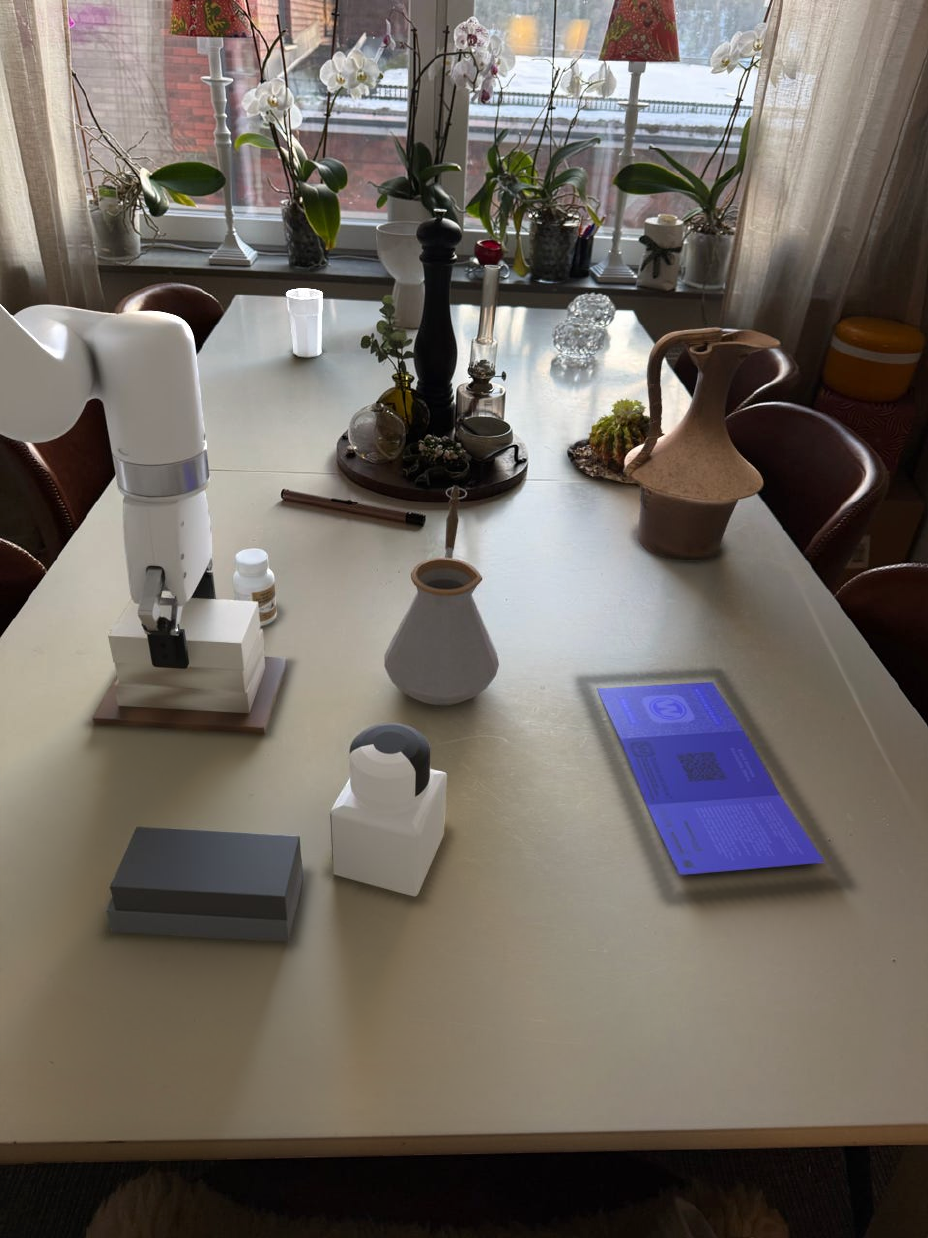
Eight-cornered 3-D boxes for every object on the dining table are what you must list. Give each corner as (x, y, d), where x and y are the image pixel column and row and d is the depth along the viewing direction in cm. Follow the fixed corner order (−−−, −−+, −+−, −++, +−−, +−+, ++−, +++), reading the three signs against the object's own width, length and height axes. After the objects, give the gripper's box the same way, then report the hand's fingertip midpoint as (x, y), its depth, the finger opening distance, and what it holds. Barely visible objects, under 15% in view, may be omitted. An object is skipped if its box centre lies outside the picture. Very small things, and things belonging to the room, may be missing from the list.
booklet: (712, 682, 97) (713, 676, 97) (822, 868, 77) (825, 862, 76) (596, 688, 95) (597, 683, 95) (678, 881, 75) (679, 875, 74)
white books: (93, 726, 87) (82, 674, 84) (132, 656, 96) (123, 607, 93) (265, 736, 87) (260, 685, 84) (287, 665, 96) (283, 617, 93)
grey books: (111, 933, 68) (100, 887, 66) (138, 869, 73) (128, 824, 71) (288, 943, 68) (284, 898, 66) (303, 879, 73) (300, 834, 71)
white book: (113, 662, 86) (107, 635, 84) (137, 620, 91) (133, 594, 90) (244, 670, 86) (241, 643, 84) (260, 627, 91) (258, 601, 90)
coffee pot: (495, 723, 90) (506, 591, 82) (376, 714, 90) (375, 582, 82) (501, 604, 108) (510, 485, 100) (402, 597, 108) (403, 478, 100)
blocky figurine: (365, 813, 80) (363, 703, 73) (445, 834, 78) (450, 723, 71) (331, 876, 74) (326, 762, 67) (417, 899, 72) (420, 786, 66)
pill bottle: (265, 631, 101) (259, 570, 97) (229, 623, 102) (222, 561, 98) (284, 611, 105) (280, 550, 100) (249, 602, 106) (243, 542, 101)
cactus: (549, 445, 147) (555, 384, 141) (640, 436, 151) (649, 378, 146) (595, 492, 133) (604, 428, 128) (693, 482, 138) (706, 419, 132)
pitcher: (636, 580, 114) (675, 352, 98) (592, 515, 128) (620, 306, 112) (768, 570, 117) (826, 348, 102) (711, 508, 131) (755, 304, 115)
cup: (309, 360, 174) (306, 300, 168) (282, 353, 177) (278, 293, 171) (332, 352, 179) (330, 293, 173) (305, 344, 182) (302, 286, 176)
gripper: (150, 425, 86) (173, 585, 95) (78, 512, 71) (114, 690, 81) (231, 430, 86) (247, 589, 95) (177, 518, 71) (201, 695, 81)
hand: (186, 635), depth 88 cm, fingers open, 9 cm apart
